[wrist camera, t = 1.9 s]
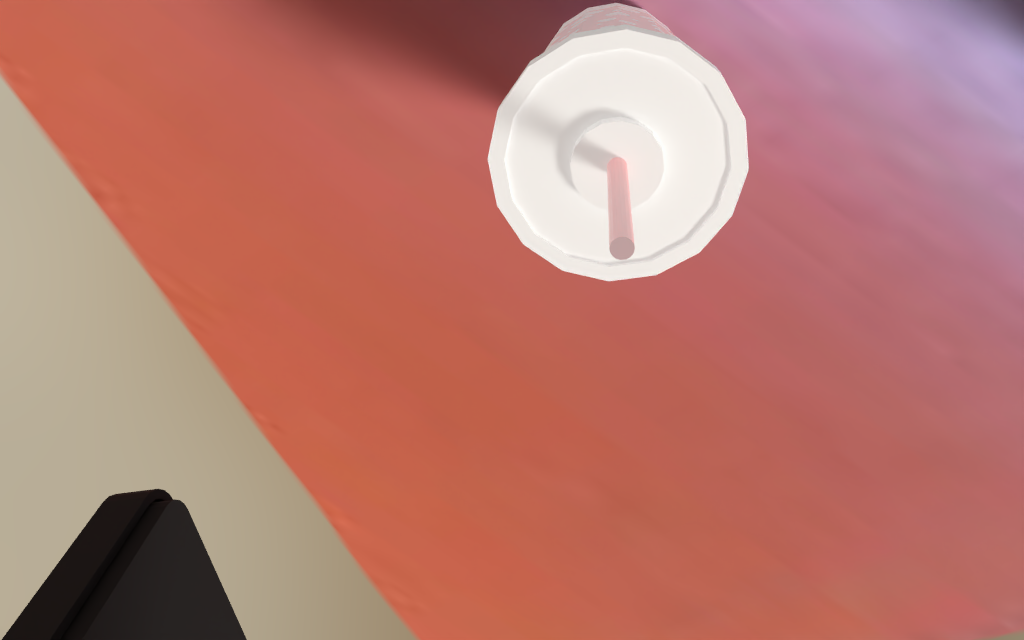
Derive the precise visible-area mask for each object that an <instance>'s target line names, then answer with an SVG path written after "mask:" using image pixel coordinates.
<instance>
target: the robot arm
mask: <svg viewBox="0 0 1024 640" xmlns="http://www.w3.org/2000/svg"><path fill="white" fill-rule="evenodd" d="M2 640H246V637H245V635H244V633H243V631H242V628H241V626H240V624H239V622H238V620H237V617H236V615H235V613H234V611H233V608H232V606H231V604H230V602H229V600H228V597H227V595H226V593H225V591H224V588H223V586H222V584H221V582H220V580H219V578H218V575H217V573H216V571H215V569H214V566H213V564H212V562H211V560H210V557H209V555H208V553H207V551H206V549H205V547H204V544H203V542H202V540H201V538H200V535H199V533H198V531H197V529H196V527H195V524H194V522H193V520H192V518H191V515H190V513H189V511H188V509H187V507H186V506H185V504H184V503H183V502H181V501H180V500H173V499H172V497H171V496H170V495H169V494H168V493H167V492H166V491H165V490H161V489H154V490H145V491H137V492H129V493H121V494H115V495H112V496H109V497H108V498H107V499H106V500H105V501H104V502H103V503H102V504H101V506H100V507H99V508H98V510H97V511H96V513H95V514H94V515H93V516H92V518H91V519H90V521H89V522H88V523H87V525H86V526H85V527H84V529H83V530H82V532H81V533H80V534H79V535H78V537H77V538H76V540H75V541H74V542H73V544H72V545H71V546H70V548H69V549H68V551H67V552H66V553H65V555H64V556H63V557H62V559H61V560H60V561H59V563H58V564H57V565H56V567H55V568H54V570H53V571H52V572H51V574H50V575H49V576H48V578H47V579H46V580H45V582H44V583H43V584H42V586H41V587H40V589H39V590H38V591H37V593H36V594H35V595H34V597H33V598H32V599H31V601H30V602H29V603H28V605H27V606H26V607H25V609H24V610H23V612H22V613H21V614H20V616H19V617H18V619H17V620H16V621H15V623H14V624H13V625H12V626H11V628H10V629H9V631H8V632H7V633H6V635H5V636H4V637H3V639H2Z"/></svg>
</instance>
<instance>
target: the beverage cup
mask: <svg viewBox="0 0 1024 640" xmlns="http://www.w3.org/2000/svg"><path fill="white" fill-rule="evenodd" d="M488 163H489V168H490V173H491V178H492V183H493V188H494V193H495V198H496V202H497V206H498V208H499V209H500V211H501V212H502V213H503V215H504V216H505V218H506V219H507V221H508V222H509V224H510V225H511V227H512V228H513V230H514V231H515V233H516V234H517V236H518V237H519V239H520V240H521V242H522V243H523V244H524V245H525V246H527V247H528V248H530V249H531V250H533V251H534V252H535V253H537V254H538V255H540V256H541V257H543V258H544V259H546V260H547V261H549V262H550V263H552V264H553V265H555V266H556V267H558V268H559V269H561V270H562V271H566V272H571V273H575V274H579V275H584V276H588V277H592V278H597V279H601V280H605V281H614V280H622V279H630V278H638V277H645V276H653V275H657V274H659V273H661V272H663V271H665V270H667V269H669V268H671V267H673V266H675V265H677V264H678V263H680V262H682V261H684V260H686V259H688V258H690V257H692V256H694V255H696V254H698V253H699V252H700V251H701V250H702V249H703V248H704V247H705V246H706V245H707V243H708V242H709V241H710V240H711V239H712V238H713V237H714V236H715V234H716V233H717V232H718V231H719V230H720V229H721V228H722V227H723V225H724V224H725V223H726V222H727V221H728V220H729V219H730V218H731V216H732V215H733V212H734V209H735V206H736V203H737V201H738V198H739V195H740V192H741V189H742V187H743V184H744V181H745V178H746V175H747V173H748V170H749V165H748V150H747V135H746V120H745V117H744V115H743V114H742V112H741V110H740V108H739V106H738V104H737V102H736V100H735V99H734V97H733V95H732V93H731V91H730V89H729V87H728V85H727V84H726V82H725V80H724V78H723V76H722V74H721V72H720V71H719V70H718V69H717V68H716V67H715V66H714V65H713V64H711V63H710V62H709V61H708V60H706V59H705V58H704V57H702V56H701V55H700V54H698V53H697V52H696V51H694V50H693V49H692V48H691V47H689V46H688V45H687V44H685V43H684V42H683V41H681V40H680V39H679V38H677V37H676V36H675V35H674V34H673V33H672V32H671V31H670V30H669V28H668V27H667V26H665V25H664V24H663V23H661V22H660V21H659V20H658V19H656V18H655V17H654V16H652V15H651V14H650V13H648V12H647V11H646V10H644V9H640V8H636V7H632V6H628V5H624V4H619V3H613V4H607V5H601V6H596V7H590V8H587V9H585V10H584V11H582V12H581V13H579V14H578V15H576V16H575V17H573V18H572V19H570V20H568V21H567V22H565V23H564V24H563V25H562V27H561V28H560V29H559V31H558V32H557V34H556V35H555V37H554V38H553V39H552V41H551V42H550V44H549V45H548V47H547V48H546V50H545V51H544V53H542V54H541V55H539V56H538V57H536V58H534V59H533V60H531V61H530V62H529V64H528V65H527V67H526V68H525V70H524V71H523V73H522V74H521V75H520V77H519V78H518V80H517V81H516V83H515V84H514V86H513V87H512V88H511V90H510V91H509V93H508V94H507V96H506V97H505V99H504V100H503V101H502V103H501V105H500V106H499V108H498V111H497V116H496V121H495V126H494V131H493V135H492V140H491V145H490V150H489V155H488Z"/></svg>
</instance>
